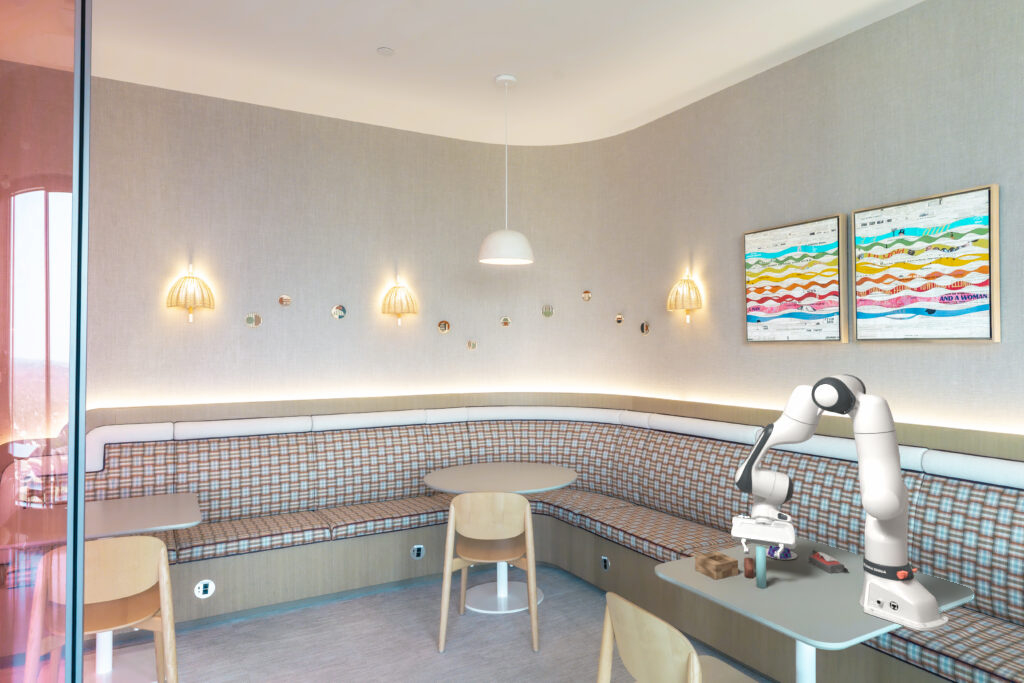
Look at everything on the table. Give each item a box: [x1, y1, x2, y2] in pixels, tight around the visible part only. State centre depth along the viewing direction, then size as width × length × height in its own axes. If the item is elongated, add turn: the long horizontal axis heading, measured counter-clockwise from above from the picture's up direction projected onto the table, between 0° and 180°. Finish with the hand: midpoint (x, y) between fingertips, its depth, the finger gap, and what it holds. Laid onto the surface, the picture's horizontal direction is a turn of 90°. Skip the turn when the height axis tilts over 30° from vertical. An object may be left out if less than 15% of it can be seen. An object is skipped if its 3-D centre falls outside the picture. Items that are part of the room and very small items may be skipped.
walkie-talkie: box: [808, 549, 849, 575], centre depth 219 cm, size 9×4×20 cm
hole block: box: [694, 551, 739, 581], centre depth 213 cm, size 10×10×5 cm
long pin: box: [755, 545, 767, 590], centre depth 200 cm, size 3×3×13 cm
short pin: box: [743, 557, 755, 579], centre depth 208 cm, size 3×3×6 cm
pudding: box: [766, 546, 798, 561], centre depth 228 cm, size 12×12×5 cm
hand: (761, 555), depth 202 cm, fingers open, 8 cm apart
